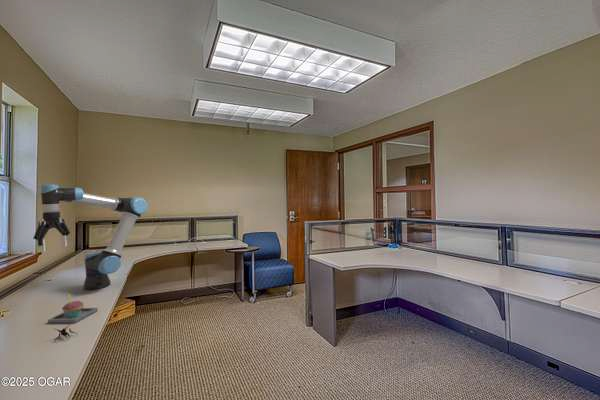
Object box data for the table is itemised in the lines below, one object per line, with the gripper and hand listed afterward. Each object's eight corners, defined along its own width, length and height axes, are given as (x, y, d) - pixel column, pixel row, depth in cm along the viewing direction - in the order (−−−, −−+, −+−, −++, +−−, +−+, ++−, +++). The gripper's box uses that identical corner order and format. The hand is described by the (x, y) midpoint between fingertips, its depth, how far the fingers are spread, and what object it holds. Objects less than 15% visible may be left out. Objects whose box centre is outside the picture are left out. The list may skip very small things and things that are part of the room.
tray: (72, 311, 155) (72, 308, 155) (97, 311, 154) (97, 307, 154) (48, 323, 141) (47, 319, 141) (75, 323, 140) (75, 319, 140)
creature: (79, 338, 127) (72, 330, 131) (80, 327, 126) (73, 319, 130) (57, 347, 120) (50, 338, 125) (57, 335, 119) (50, 326, 124)
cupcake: (59, 320, 142) (58, 296, 142) (68, 313, 150) (66, 290, 150) (80, 317, 145) (78, 293, 144) (87, 311, 153) (86, 288, 152)
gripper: (64, 210, 178) (66, 244, 179) (22, 213, 153) (25, 253, 154) (75, 209, 177) (78, 244, 178) (36, 213, 153) (38, 253, 153)
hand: (53, 248), depth 166 cm, fingers open, 13 cm apart
